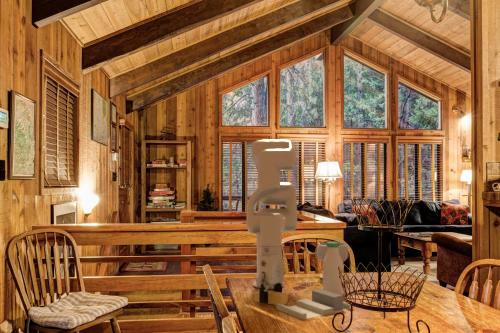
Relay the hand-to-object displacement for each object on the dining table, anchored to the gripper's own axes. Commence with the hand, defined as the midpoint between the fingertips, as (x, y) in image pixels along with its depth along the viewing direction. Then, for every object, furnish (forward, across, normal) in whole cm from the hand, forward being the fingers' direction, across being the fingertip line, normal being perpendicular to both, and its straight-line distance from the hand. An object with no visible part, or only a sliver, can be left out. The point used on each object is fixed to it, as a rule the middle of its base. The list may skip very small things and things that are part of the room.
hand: (271, 299), depth 163 cm
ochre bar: (+2, 0, 0) cm, 2 cm away
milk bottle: (+2, +24, -13) cm, 27 cm away
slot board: (+2, 0, -16) cm, 17 cm away
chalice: (+2, +54, 0) cm, 54 cm away
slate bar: (+1, +5, -19) cm, 19 cm away
